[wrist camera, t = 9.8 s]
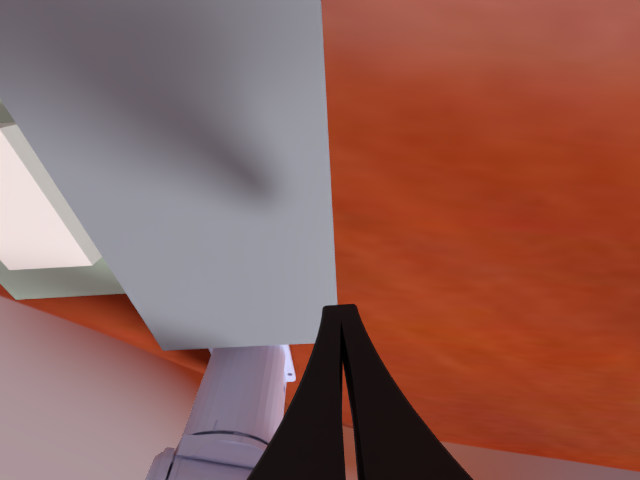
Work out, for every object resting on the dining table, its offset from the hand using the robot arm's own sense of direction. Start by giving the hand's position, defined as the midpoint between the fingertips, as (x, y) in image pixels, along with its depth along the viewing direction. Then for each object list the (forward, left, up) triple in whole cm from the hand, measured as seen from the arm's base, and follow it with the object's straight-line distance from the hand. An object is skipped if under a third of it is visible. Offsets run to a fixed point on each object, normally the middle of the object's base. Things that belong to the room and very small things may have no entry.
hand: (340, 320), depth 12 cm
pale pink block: (+3, +20, -7) cm, 21 cm away
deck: (+3, +7, -9) cm, 12 cm away
